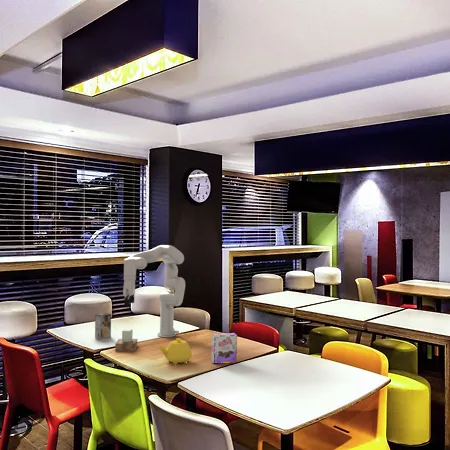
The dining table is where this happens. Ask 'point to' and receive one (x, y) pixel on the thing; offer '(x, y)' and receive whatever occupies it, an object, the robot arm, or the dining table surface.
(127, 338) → the sage block
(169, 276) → the robot arm
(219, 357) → the candy box
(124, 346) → the block
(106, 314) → the coffee box
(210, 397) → the dining table surface
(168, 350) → the teapot
